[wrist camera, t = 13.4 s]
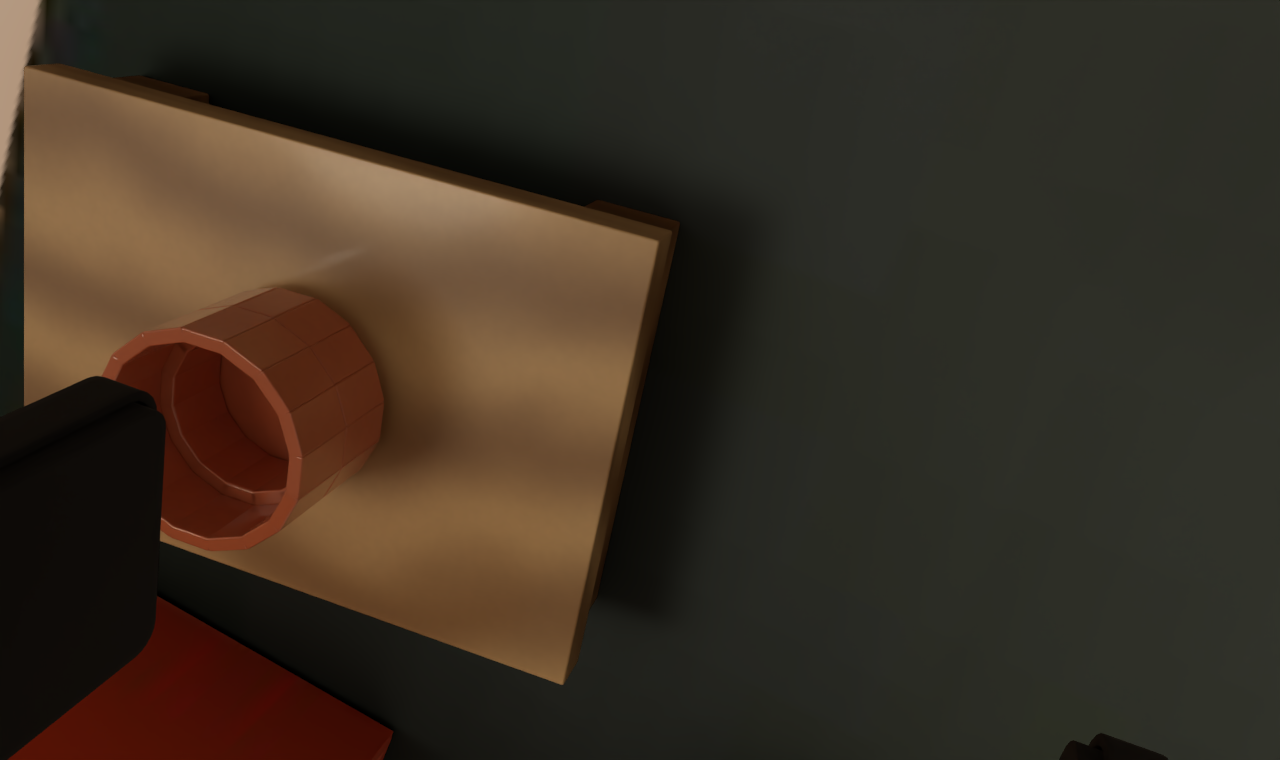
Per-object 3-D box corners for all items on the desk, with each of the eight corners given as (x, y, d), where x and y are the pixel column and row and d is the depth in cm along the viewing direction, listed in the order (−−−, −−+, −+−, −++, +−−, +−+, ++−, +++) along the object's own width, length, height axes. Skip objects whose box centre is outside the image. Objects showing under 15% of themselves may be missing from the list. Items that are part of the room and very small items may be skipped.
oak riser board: (128, 57, 42) (23, 65, 37) (698, 210, 37) (659, 240, 33) (115, 444, 47) (23, 492, 43) (606, 613, 43) (563, 686, 39)
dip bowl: (215, 259, 37) (96, 300, 32) (404, 316, 36) (312, 368, 31) (203, 445, 40) (91, 510, 35) (379, 505, 39) (289, 581, 34)
